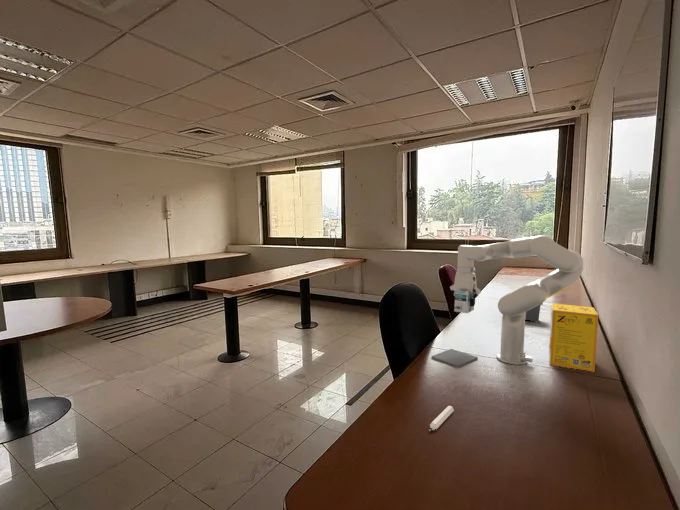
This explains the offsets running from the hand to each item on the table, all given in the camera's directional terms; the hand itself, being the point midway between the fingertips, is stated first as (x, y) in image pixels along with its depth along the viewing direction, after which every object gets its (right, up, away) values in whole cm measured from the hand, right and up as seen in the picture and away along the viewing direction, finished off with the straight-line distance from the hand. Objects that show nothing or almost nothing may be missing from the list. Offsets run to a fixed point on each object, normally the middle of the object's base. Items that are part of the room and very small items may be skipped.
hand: (464, 304), depth 170 cm
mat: (-9, -24, -11) cm, 28 cm away
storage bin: (+61, -19, +58) cm, 86 cm away
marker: (-31, -28, -62) cm, 75 cm away
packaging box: (+43, -24, -15) cm, 51 cm away
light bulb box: (0, -3, 0) cm, 3 cm away
